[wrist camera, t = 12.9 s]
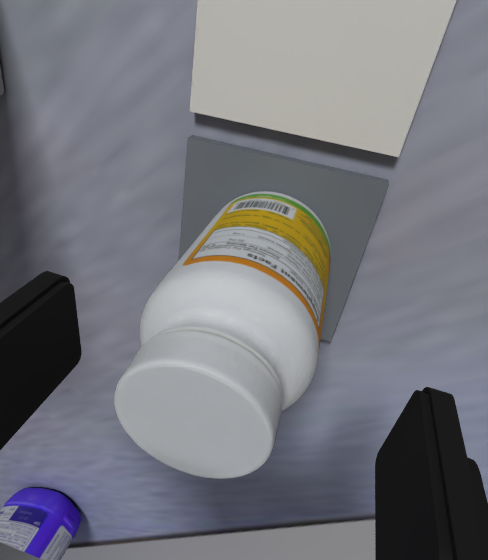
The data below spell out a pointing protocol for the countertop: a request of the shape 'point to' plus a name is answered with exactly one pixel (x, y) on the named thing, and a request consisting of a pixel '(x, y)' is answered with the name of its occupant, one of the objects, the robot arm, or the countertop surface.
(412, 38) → the offwhite tile
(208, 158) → the slate tile
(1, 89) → the coffee box
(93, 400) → the countertop surface
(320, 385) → the countertop surface
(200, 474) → the supplement bottle
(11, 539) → the bottle
